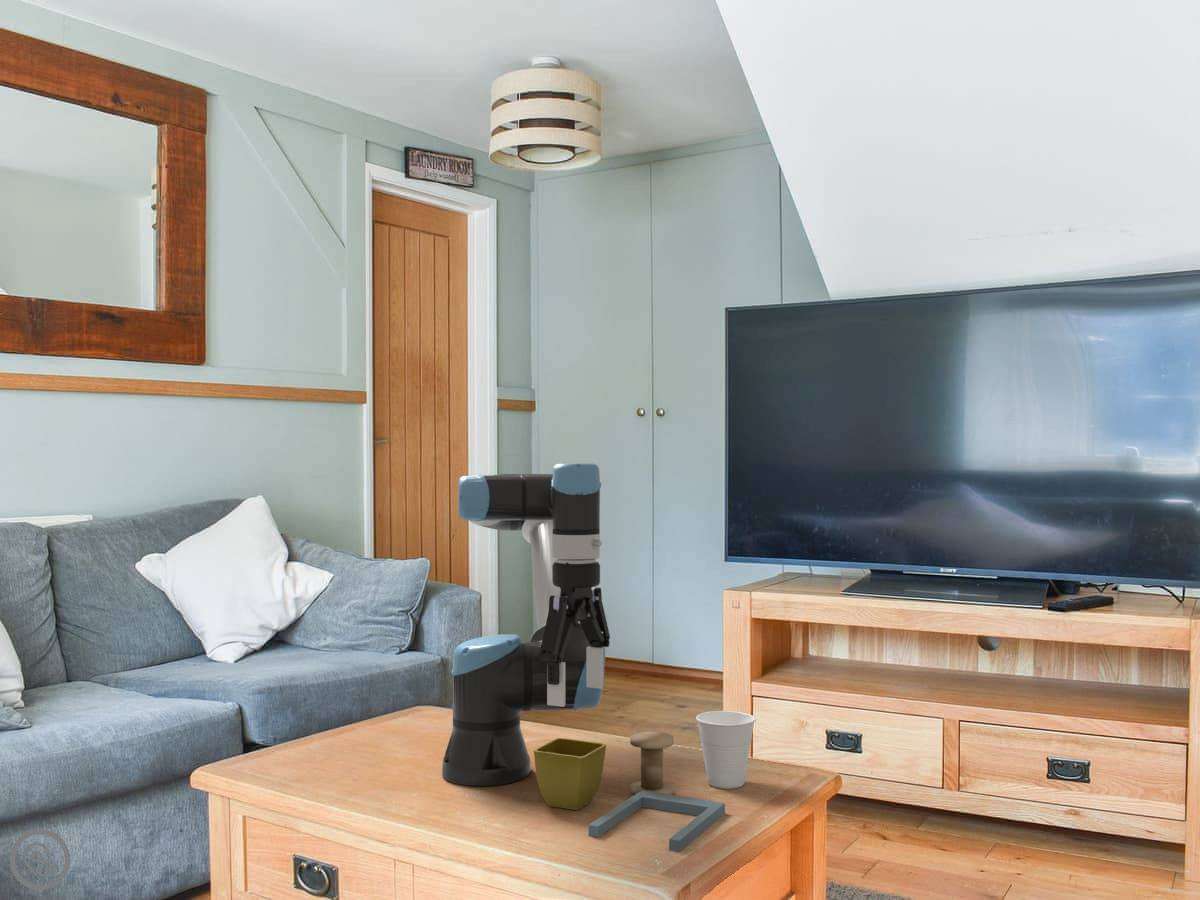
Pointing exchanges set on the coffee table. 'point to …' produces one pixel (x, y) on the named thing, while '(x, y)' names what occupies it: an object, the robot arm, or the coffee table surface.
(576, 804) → the flower pot
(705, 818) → the blue-grey u-shaped bracket
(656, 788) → the bobbin
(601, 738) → the coffee table surface
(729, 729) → the cup
